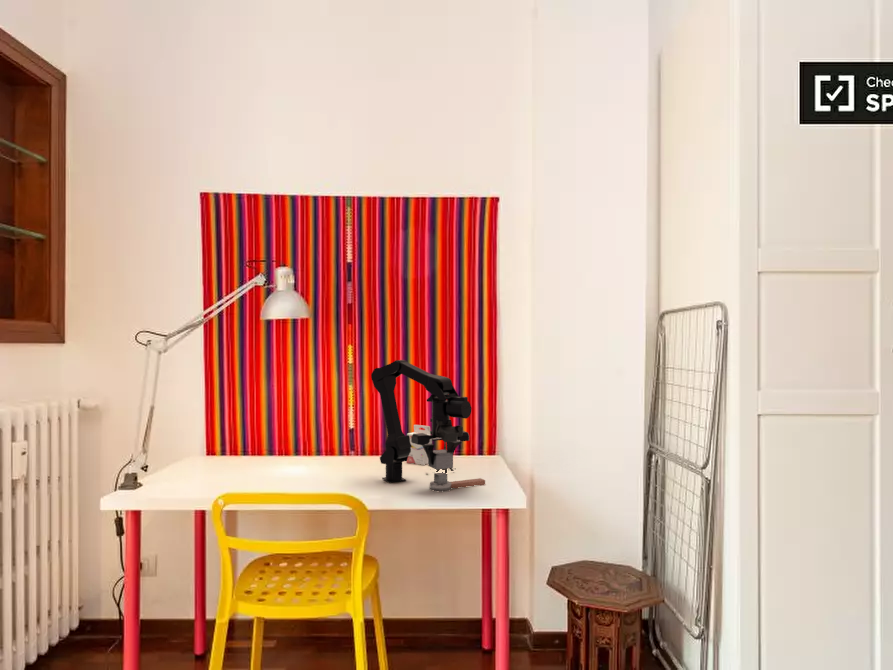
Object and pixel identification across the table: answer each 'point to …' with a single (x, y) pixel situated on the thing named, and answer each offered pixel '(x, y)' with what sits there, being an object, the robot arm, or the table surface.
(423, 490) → the table surface
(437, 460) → the socket
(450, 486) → the hammer
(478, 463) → the table surface
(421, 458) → the ink cartridge box
